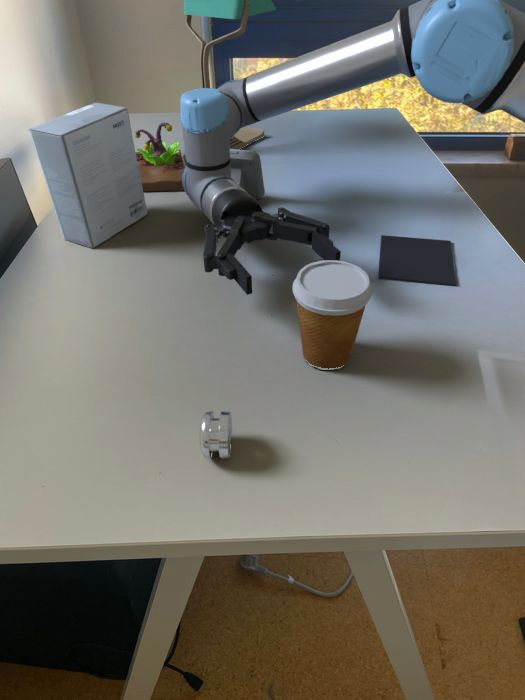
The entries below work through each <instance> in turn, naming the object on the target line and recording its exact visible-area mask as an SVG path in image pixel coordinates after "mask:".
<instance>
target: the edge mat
mask: <svg viewBox="0 0 525 700" xmlns="http://www.w3.org/2000/svg"><path fill="white" fill-rule="evenodd" d="M452 247H453V246H452V241H451V240H447V239H434V238H421V237H411V236H409V237H408V236H397V235H385V234H381V236H380V245H379V260H378V261H379V262H378V276H377V279H378V280H387V281H389V280H390V281H399V282H408V283H409V282H410V283H419V284H429V285H438V286H439V285H440V286H451V287H456V286H457V277H456V270H455V264H454V263H455V262H454V256H453V255H454V254H453V249H452Z"/></svg>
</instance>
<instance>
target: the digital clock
mask: <svg viewBox="0 0 525 700" xmlns="http://www.w3.org/2000/svg"><path fill="white" fill-rule="evenodd" d="M180 150H181V155H182V159H183V162H184V165H185V167H186V154H185V146H182V147H181V149H180ZM260 156H261V155H260V154H259V153H258V152H257V151H255V150H248V149H241V150H237V149H230V167H231V178H232V180H234V181H235V182H236V183H237V184H238V185H239V186H240V187H242V188H243V189H244V190H245V191H246V192H247V193H248V194H249V195H251V196H252V197H253V198H254V199H255V200H259V199H262V198H264V196H265V192H266V191H265V184H264V176H263V169H262V162H261V161H262V160H261V157H260Z"/></svg>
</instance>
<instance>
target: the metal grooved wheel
mask: <svg viewBox="0 0 525 700" xmlns="http://www.w3.org/2000/svg"><path fill="white" fill-rule="evenodd" d="M231 434H232V435H233V417H232V413H231V411H230V410H229V411H226V410H225V411H222V410H221V411H220V414H219V417H215V414H214V412H213V411H212V410H211V411H210V410H209V411H205V412H204V413H203V414H202V417H201V420H200V425H199V448H200V449H199V450H200V454H201V455H202V457H203V458H205V459H212V458H211V453H212V452H213V453H216V452H217V453H218V454H219V458H220V459H225V458H229V455H230V444H231ZM230 456H231V455H230ZM229 459H230V458H229Z"/></svg>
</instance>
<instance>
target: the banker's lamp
mask: <svg viewBox="0 0 525 700" xmlns="http://www.w3.org/2000/svg"><path fill="white" fill-rule="evenodd" d="M275 10H277V8H276V6H275V5H274V2H273V1H272V0H183V15H185V20H184V21H185V22H184V23H185V25H186V27H187V28H188V30H189V31H190V32H191V33H192V34H193V36H194V37H195V38H196V39H197V40H198V42H199V43H200V46H201V47H200V54H199V68H200V69H199V70H200V79H201V81H200V82H201V88H211V80H210V79H211V78H210V67H209V66H210V65H209V59H210V50H211V48H212V47H213V46H215V45H216V44H220V43H222V42H225V41H229V40H231V39H234V38H237V37H239V36H242V35H243V34H244V33H245V32H246V30H247V24H248V17H251V16H252V17H253V16H256V15H260V14H264V13H268V12H271V11H275ZM193 16H197V17H207V18H217V19H227V20H228V19H229V20H238V19H241V22H240V27H239V28H238V29H236V30H234V31H232V32H230V33H227V34H225V35H222V36H220V37H218V38H215V39H214V40H211V41H209V42H208V43H207V42H206V40H204V39H203V38H202V37H201V35H199V34H198V33H197V32H196V30H194V29H193V26H192V18H193ZM263 136H264V137H265V130H264V129H259V128H254V127H249V126H245V127H243V128H241V129H240V130H239V131H238V132H237V133H236V134H235V135H234V136H233V137H232V138H231V139H230V140H229V145H230V149H237V150H238V149H240V148H242V147H244V146H246V145H247V144H250V143H252V142H253V141H255V140H257V139H259V138H261V137H263Z"/></svg>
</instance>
